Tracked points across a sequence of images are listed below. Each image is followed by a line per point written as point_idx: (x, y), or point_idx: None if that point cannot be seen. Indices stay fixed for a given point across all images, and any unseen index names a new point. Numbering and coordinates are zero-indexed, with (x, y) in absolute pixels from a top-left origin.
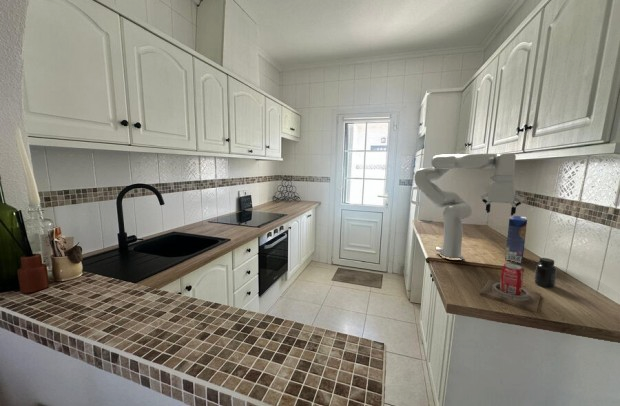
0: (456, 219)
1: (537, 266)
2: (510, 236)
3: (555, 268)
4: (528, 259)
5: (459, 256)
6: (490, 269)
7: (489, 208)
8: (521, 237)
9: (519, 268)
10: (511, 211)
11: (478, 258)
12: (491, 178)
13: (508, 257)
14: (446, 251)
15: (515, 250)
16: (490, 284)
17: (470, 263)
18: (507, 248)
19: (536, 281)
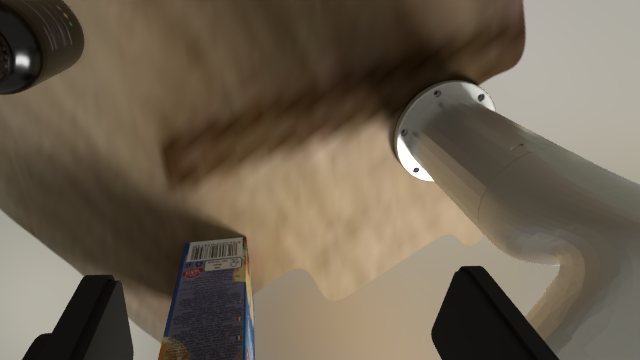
0: (631, 208)
1: (23, 22)
2: (231, 332)
3: None
4: None
5: (417, 126)
6: (279, 82)
7: (480, 358)
8: (178, 342)
9: None
10: (81, 342)
11: (338, 191)
12: None
13: (234, 247)
14: (486, 107)
15: (208, 278)
16: None
17: (363, 105)
18: (241, 276)
19: (63, 8)
